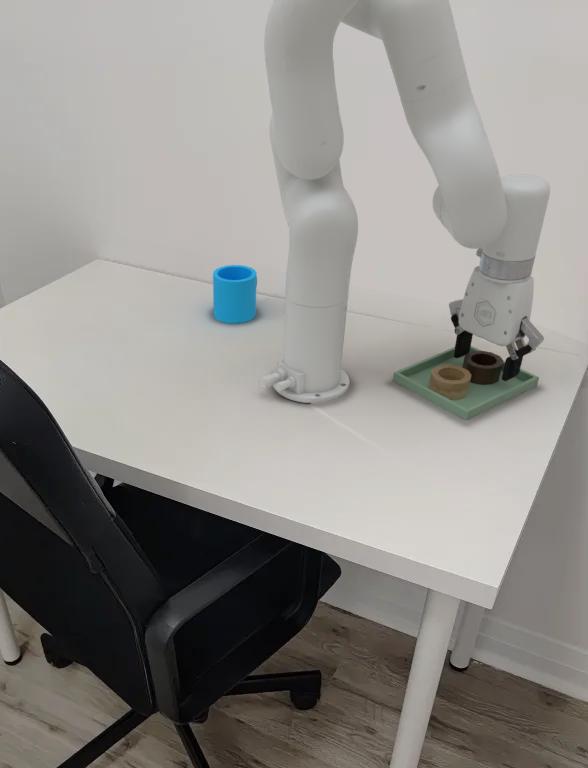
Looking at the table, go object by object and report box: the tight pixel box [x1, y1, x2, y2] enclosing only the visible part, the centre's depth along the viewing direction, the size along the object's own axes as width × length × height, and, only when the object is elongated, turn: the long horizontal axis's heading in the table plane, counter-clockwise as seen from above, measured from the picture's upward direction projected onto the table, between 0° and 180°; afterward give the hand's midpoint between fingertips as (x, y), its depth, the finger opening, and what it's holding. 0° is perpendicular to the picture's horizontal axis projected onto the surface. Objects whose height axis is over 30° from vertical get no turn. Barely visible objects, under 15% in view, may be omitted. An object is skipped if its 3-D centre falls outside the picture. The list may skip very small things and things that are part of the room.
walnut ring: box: [462, 350, 504, 385], centre depth 126 cm, size 6×6×3 cm
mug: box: [212, 264, 258, 324], centre depth 147 cm, size 12×8×8 cm
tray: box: [392, 345, 540, 421], centre depth 125 cm, size 17×15×2 cm
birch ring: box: [429, 365, 471, 400], centre depth 123 cm, size 6×6×3 cm
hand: (484, 366), depth 126 cm, fingers open, 9 cm apart
